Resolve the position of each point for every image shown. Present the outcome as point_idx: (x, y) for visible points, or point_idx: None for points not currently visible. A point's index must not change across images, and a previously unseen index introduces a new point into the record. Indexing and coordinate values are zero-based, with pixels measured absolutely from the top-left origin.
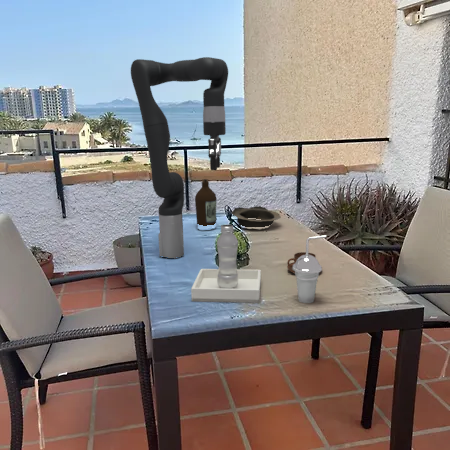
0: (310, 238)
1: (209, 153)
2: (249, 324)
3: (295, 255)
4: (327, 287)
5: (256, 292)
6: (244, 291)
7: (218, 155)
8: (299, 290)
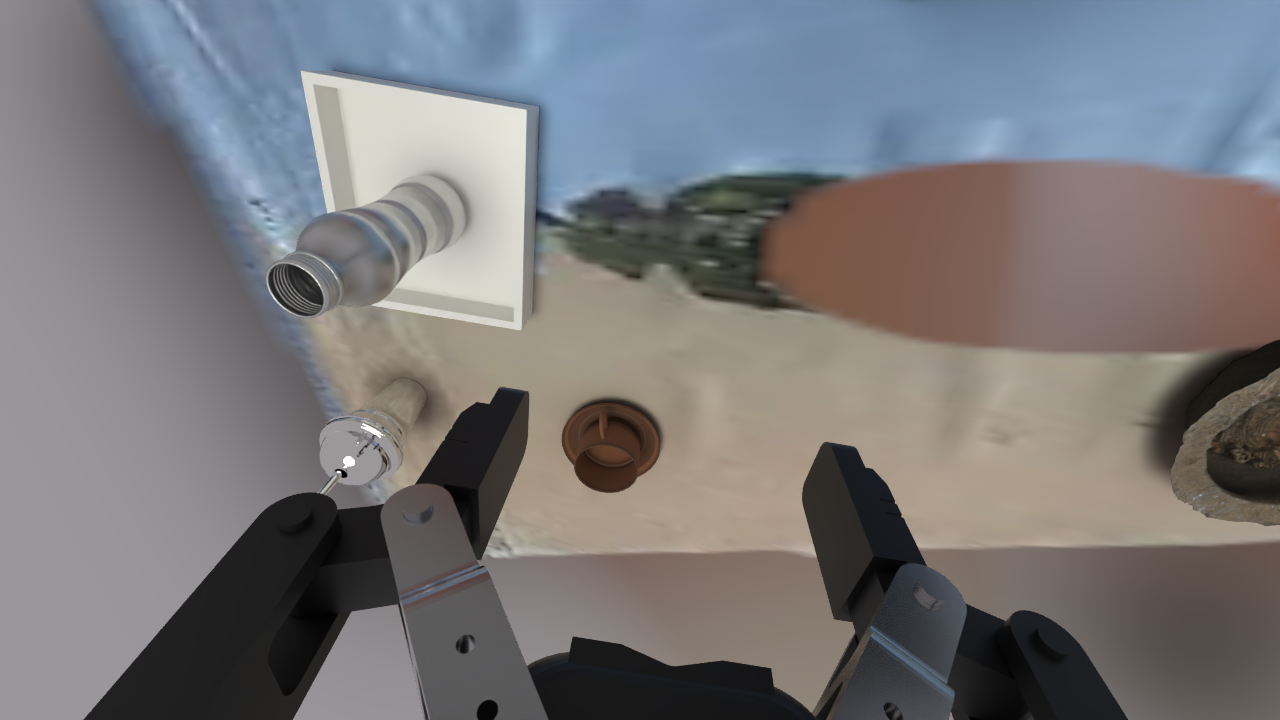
0: None
1: (235, 561)
2: (232, 244)
3: (624, 448)
4: None
5: None
6: None
7: (857, 635)
8: (377, 394)
